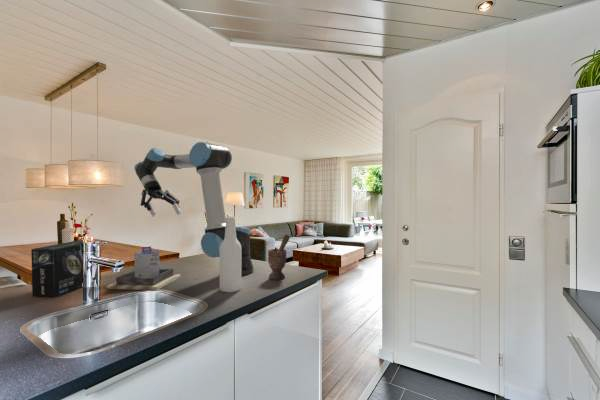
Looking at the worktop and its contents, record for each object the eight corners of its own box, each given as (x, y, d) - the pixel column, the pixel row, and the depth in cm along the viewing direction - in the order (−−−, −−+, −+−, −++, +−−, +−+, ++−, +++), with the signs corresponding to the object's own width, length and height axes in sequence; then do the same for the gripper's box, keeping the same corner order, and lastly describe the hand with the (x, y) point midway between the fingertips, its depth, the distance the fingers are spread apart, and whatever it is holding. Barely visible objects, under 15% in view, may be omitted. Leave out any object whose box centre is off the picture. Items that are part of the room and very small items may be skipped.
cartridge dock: (180, 276, 141) (180, 268, 141) (157, 289, 121) (157, 279, 121) (137, 275, 143) (137, 267, 143) (106, 288, 123) (106, 278, 123)
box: (54, 298, 111) (54, 248, 111) (30, 297, 112) (30, 248, 112) (101, 281, 134) (101, 239, 134) (81, 280, 135) (81, 239, 135)
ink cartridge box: (158, 276, 137) (158, 245, 137) (159, 279, 132) (159, 247, 132) (134, 279, 132) (134, 247, 132) (134, 282, 128) (134, 249, 127)
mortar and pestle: (276, 273, 147) (276, 233, 147) (292, 275, 144) (291, 234, 144) (264, 279, 137) (264, 236, 136) (281, 281, 133) (281, 237, 133)
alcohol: (227, 285, 127) (227, 216, 127) (245, 287, 124) (245, 216, 124) (215, 291, 119) (214, 217, 119) (233, 293, 116) (233, 218, 116)
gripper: (170, 190, 170) (185, 217, 161) (124, 189, 149) (139, 220, 141) (175, 181, 167) (191, 208, 158) (129, 178, 146) (145, 209, 138)
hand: (167, 214), depth 149 cm, fingers open, 13 cm apart
